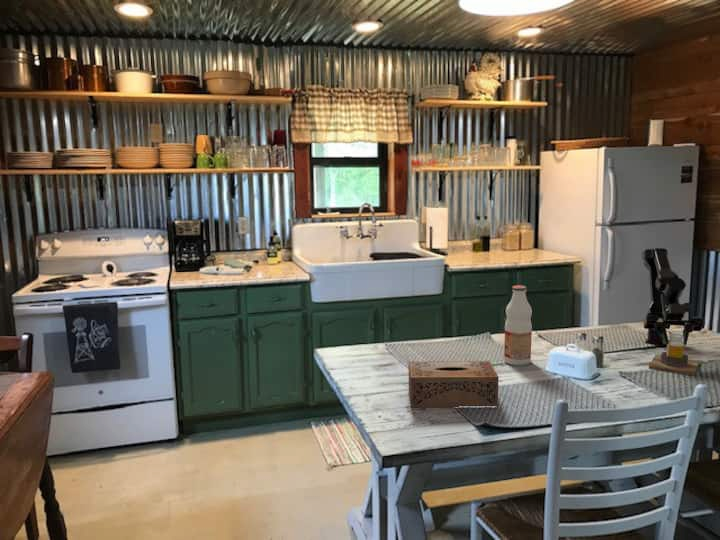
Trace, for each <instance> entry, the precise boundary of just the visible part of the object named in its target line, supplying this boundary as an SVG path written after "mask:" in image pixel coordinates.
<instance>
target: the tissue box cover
mask: <svg viewBox="0 0 720 540" xmlns="http://www.w3.org/2000/svg"><path fill="white" fill-rule="evenodd" d="M499 378H500V377H499V375H498V373H497V372H496V370H495V367H494V366H493V364H492V362H491V361H490V360H474V361H473V360H466V361H465V360H456V361H455V360H454V361H453V360H450V361H449V360H448V361H446V360H445V361H443V360H441V361H439V360H437V361H436V360H435V361H434V360H433V361H430V360H428V361H426V360H425V361H424V360H423V361H408V395H409V397H408V398H409V404H410V405H411V406H410V409H411V408H441V409H455V408H454V407H459V406H498V407H499Z"/></svg>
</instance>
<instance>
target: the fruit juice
mask: <svg viewBox="0 0 720 540" xmlns="http://www.w3.org/2000/svg"><path fill="white" fill-rule="evenodd" d="M511 290H512V295H511V298H510V300H509V302H508V304H507V306H506V308H505V315H506V319H505V323H504V343H503V344H504V346H503V347H504V348H503V349H504V350H503V351H504V353H503V355H504V357H503V359H504V360H503V361H504V363H506V364H509V365H512V366H527V365H529V364H530V363H531V362H532V361H531V360H532V334H533V333H532V331H533V328H532V327H533V325H532V321H531V318H532V314H533V312H532V310H533V309H532V307H531V305H530V303H529V301H528V299H527V293H526V292H527V286H526V285H512V286H511Z"/></svg>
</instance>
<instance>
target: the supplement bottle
mask: <svg viewBox="0 0 720 540" xmlns="http://www.w3.org/2000/svg"><path fill="white" fill-rule="evenodd" d="M684 350H685V345H684V340H683V334H680V333H674V332H673V333H670V334H669V339H668V344H666V351H665V352H666V356H668V357H673V358H683V354H685V353H684Z"/></svg>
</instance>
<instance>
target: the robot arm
mask: <svg viewBox="0 0 720 540" xmlns="http://www.w3.org/2000/svg"><path fill="white" fill-rule="evenodd" d="M641 259H642V261H643V265H644V267H645V268H646V269H647V270H648V277H649V279H648V280H649V292H650V306H649V308H648V309H647V311H646V314H645V316H644V318H643V328H644V329H646V330H647V338H646V339H645V343H646V344H653V345H659V346H660V345H661V346H664V345H665V344H666V345H667V344H668V340H669V337H668V333H667V330H670V329H671V326H678V327H683V330H682V336H683V338H682V341H683V342H684V346H687V344H688V340H689V336H690V333H693V332H702V330H703V329H704V326H705V325H706V320H705V319H704V317H702V316H691V317H690V319H689V320H688V319H687V320H686V319H685V320H684V317H685V315H686V313H691V311H692V306H691V302H684V303H682V304H681V303H680V298H681V297H682V294H683V293H684V291H685V289H686V286H687V285H686V284H687V283H686V281H684V279H682V278H680V277H679V275H678V274H677V273H676V272H674V271H673V270H672V268H671V265H670V262H669V261H670V260H669V258H668V250H667V248H665V247H654V248H646V249H644V250H643V251H642V254H641Z"/></svg>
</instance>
